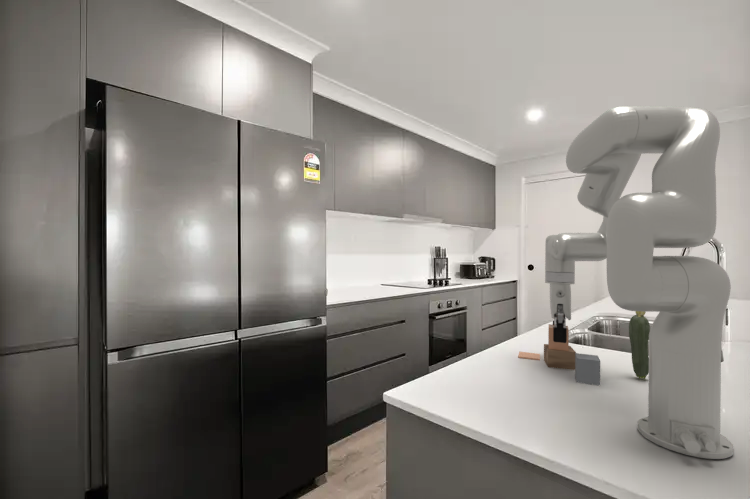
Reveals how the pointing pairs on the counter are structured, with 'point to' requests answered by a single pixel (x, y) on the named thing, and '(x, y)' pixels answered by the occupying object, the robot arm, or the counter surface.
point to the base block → (559, 358)
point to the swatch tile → (529, 355)
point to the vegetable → (639, 343)
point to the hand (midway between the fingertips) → (559, 338)
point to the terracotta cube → (557, 344)
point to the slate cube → (587, 369)
